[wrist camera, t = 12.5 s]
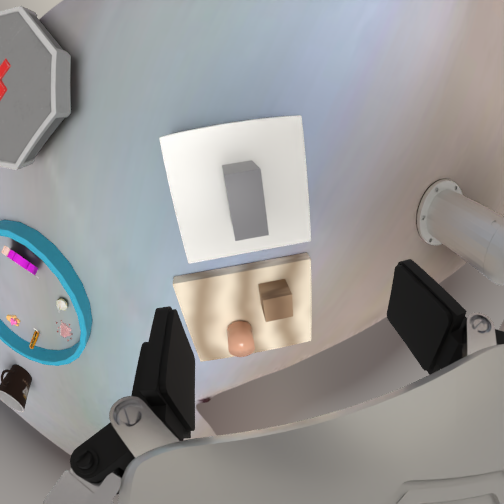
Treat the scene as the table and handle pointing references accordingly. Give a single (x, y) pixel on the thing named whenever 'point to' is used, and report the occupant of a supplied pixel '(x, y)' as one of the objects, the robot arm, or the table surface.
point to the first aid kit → (29, 86)
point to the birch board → (244, 304)
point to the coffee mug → (15, 387)
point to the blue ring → (74, 290)
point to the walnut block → (276, 300)
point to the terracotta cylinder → (240, 339)
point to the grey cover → (239, 186)
